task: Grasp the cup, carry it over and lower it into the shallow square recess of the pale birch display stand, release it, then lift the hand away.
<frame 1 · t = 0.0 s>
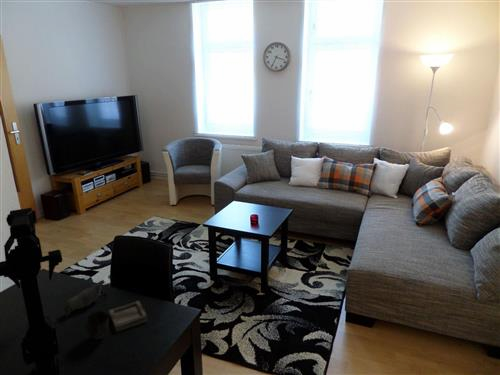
hand: (35, 283, 120), 15 cm above the table, fingers open, 9 cm apart
birch stand: (128, 317, 126), on the table
decorative bird: (86, 306, 132), on the table
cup: (99, 337, 116), on the table
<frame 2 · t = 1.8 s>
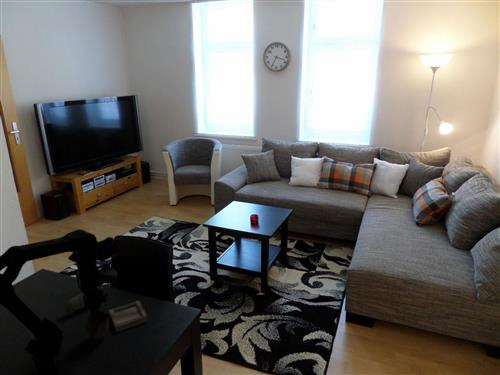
hand: (93, 309, 113), 11 cm above the table, fingers open, 9 cm apart
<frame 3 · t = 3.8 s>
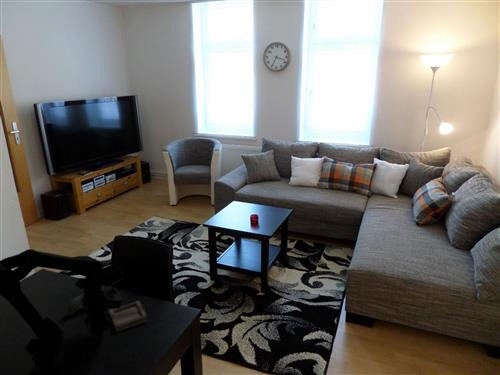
hand: (98, 332, 115), 2 cm above the table, fingers closed on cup, 6 cm apart
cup: (99, 337, 116), on the table, touching gripper
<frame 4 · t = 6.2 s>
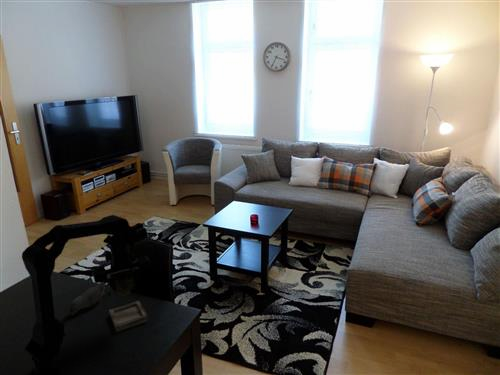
hand: (124, 289, 122), 12 cm above the table, fingers closed on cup, 6 cm apart
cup: (125, 294, 122), point 10 cm above the table, touching gripper
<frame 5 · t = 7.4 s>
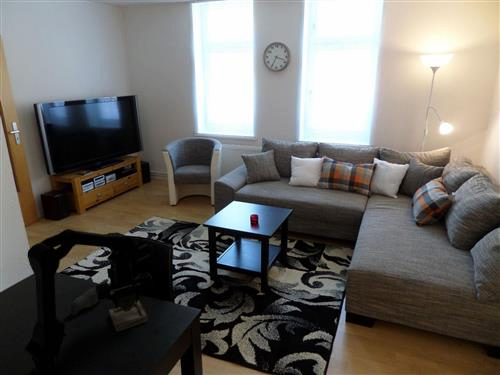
hand: (126, 305, 124), 6 cm above the table, fingers closed on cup, 6 cm apart
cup: (127, 309, 125), point 4 cm above the table, touching gripper
when the fingers open (4 cm above the table, at t = 8.7 s): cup stays where it is, resting on birch stand.
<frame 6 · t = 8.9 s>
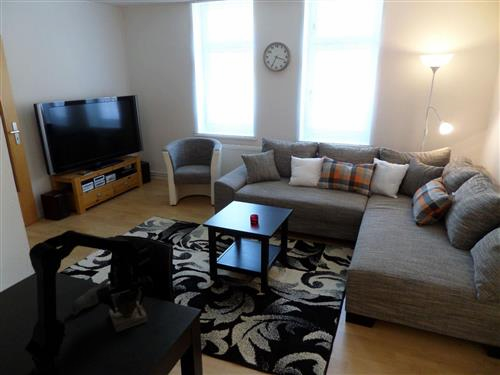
hand: (127, 308, 125), 4 cm above the table, fingers open, 9 cm apart
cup: (128, 315, 125), point 1 cm above the table, touching birch stand
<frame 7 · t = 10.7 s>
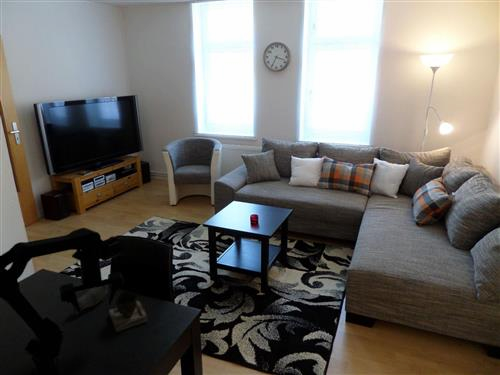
hand: (95, 308, 113), 11 cm above the table, fingers open, 9 cm apart
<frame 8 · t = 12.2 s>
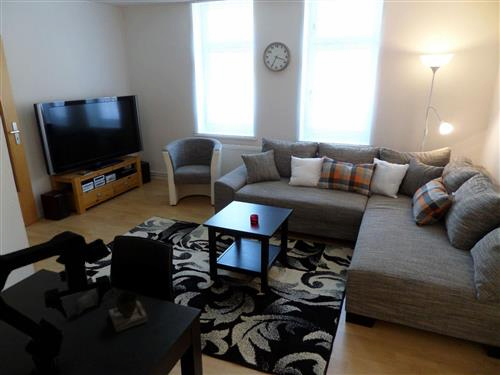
hand: (82, 313, 110), 12 cm above the table, fingers open, 9 cm apart
at the end: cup 0.1 cm off-centre on the birch stand, point 0.8 cm above the birch stand's base; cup tilted 0°; the gripper is holding nothing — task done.
